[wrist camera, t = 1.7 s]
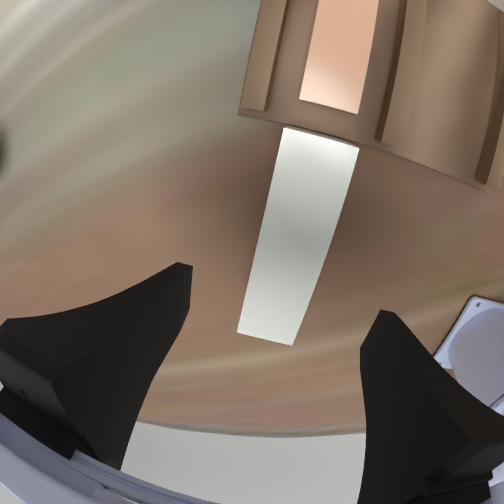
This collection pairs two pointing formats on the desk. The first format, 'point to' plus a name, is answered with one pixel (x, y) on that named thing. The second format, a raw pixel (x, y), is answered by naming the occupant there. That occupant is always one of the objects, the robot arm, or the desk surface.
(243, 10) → the desk surface
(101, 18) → the desk surface
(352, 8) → the terracotta strip
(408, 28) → the walnut drying rack
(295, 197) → the strip
